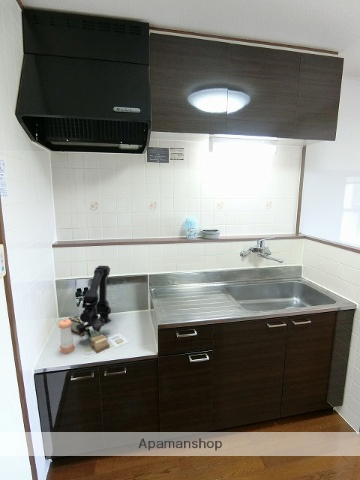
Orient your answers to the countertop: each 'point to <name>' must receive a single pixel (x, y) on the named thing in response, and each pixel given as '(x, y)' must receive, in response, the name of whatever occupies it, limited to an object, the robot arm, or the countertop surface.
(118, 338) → the page
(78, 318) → the food container
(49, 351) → the countertop surface
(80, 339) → the countertop surface
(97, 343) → the oak brick
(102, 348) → the walnut base
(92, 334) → the sage brick
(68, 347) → the pepper shaker
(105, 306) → the robot arm
